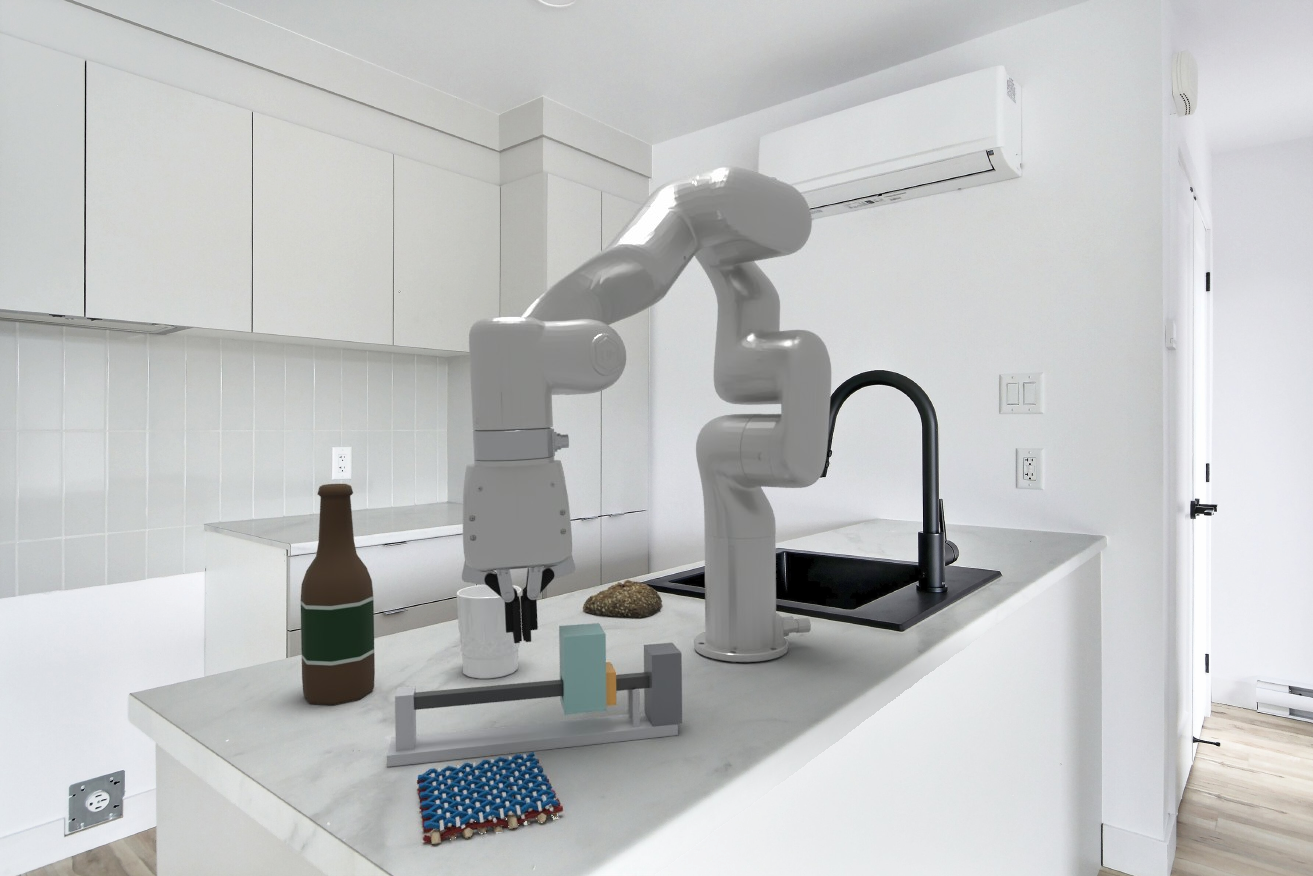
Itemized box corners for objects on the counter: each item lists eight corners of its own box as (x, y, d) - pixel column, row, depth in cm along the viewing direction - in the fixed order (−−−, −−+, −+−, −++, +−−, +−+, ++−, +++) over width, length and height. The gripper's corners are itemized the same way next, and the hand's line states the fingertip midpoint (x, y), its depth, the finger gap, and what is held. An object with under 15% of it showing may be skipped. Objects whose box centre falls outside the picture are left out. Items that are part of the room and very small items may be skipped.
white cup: (507, 682, 89) (506, 598, 89) (446, 679, 91) (445, 596, 91) (531, 662, 97) (530, 584, 97) (474, 658, 99) (473, 583, 98)
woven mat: (567, 826, 58) (567, 800, 58) (424, 856, 54) (423, 828, 54) (539, 769, 68) (538, 746, 68) (415, 790, 64) (415, 767, 64)
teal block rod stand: (672, 719, 78) (671, 642, 78) (682, 734, 74) (682, 653, 74) (391, 748, 71) (390, 664, 71) (386, 766, 67) (385, 678, 67)
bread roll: (642, 623, 117) (641, 591, 116) (573, 615, 122) (573, 584, 122) (675, 605, 128) (675, 576, 128) (612, 598, 133) (611, 570, 133)
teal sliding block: (599, 696, 76) (598, 623, 76) (606, 710, 72) (605, 633, 72) (560, 699, 75) (559, 626, 75) (564, 714, 71) (563, 637, 71)
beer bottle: (329, 711, 81) (325, 488, 80) (286, 698, 85) (282, 485, 84) (389, 689, 87) (386, 483, 87) (347, 678, 92) (344, 481, 91)
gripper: (586, 443, 77) (593, 620, 78) (434, 450, 74) (443, 635, 74) (597, 447, 70) (605, 642, 71) (430, 454, 66) (439, 659, 67)
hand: (522, 638), depth 73 cm, fingers closed
